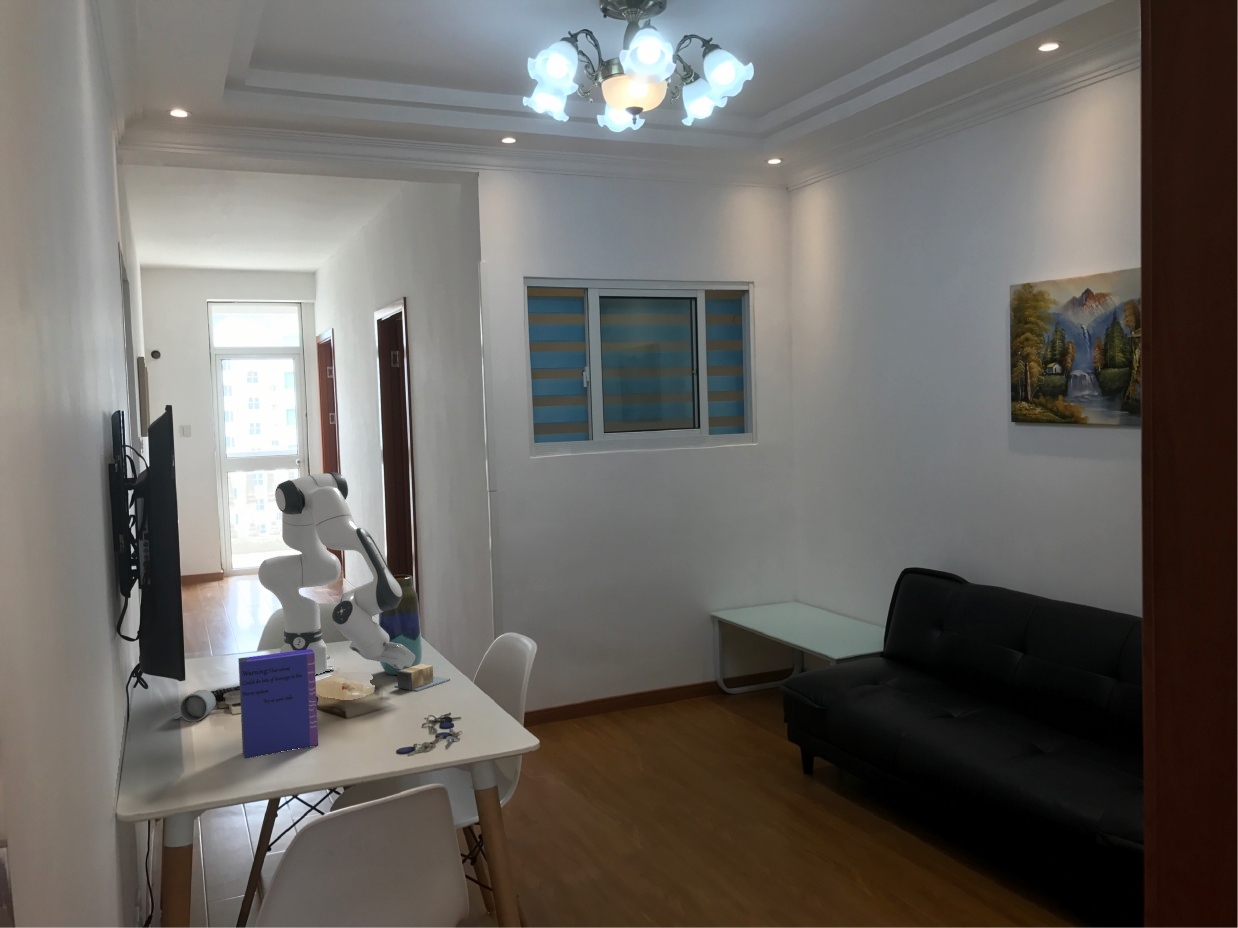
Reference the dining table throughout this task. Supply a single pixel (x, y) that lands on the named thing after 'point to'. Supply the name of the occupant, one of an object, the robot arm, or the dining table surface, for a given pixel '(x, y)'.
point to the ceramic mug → (196, 706)
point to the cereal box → (278, 702)
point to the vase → (403, 623)
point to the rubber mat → (435, 681)
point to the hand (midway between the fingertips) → (400, 666)
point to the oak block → (415, 676)
